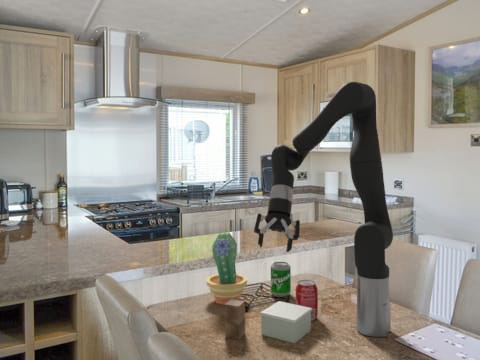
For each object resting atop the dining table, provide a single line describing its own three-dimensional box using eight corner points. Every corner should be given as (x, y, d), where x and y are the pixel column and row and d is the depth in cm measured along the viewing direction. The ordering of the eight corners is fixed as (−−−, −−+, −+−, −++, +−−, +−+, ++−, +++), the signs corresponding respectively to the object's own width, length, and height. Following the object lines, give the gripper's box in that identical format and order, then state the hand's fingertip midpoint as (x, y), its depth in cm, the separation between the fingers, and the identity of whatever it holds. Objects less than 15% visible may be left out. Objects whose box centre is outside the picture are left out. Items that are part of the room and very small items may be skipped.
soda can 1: (271, 290, 168) (271, 260, 168) (290, 291, 167) (290, 261, 167) (270, 297, 161) (269, 265, 160) (290, 298, 160) (290, 266, 159)
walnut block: (245, 333, 129) (244, 301, 128) (239, 339, 125) (239, 306, 124) (231, 331, 131) (230, 299, 130) (225, 337, 126) (224, 304, 126)
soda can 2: (304, 312, 145) (304, 277, 144) (322, 318, 140) (322, 282, 139) (291, 318, 140) (291, 282, 140) (309, 324, 135) (309, 287, 135)
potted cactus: (197, 301, 157) (195, 234, 156) (225, 290, 169) (224, 228, 167) (228, 311, 147) (227, 239, 146) (256, 299, 159) (255, 232, 157)
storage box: (311, 330, 131) (311, 308, 131) (294, 344, 122) (294, 320, 121) (279, 322, 138) (278, 301, 137) (260, 335, 128) (260, 312, 128)
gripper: (260, 193, 138) (252, 241, 131) (304, 201, 137) (299, 249, 131) (258, 201, 144) (250, 248, 138) (299, 209, 144) (294, 255, 138)
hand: (274, 248), depth 134 cm, fingers open, 8 cm apart
